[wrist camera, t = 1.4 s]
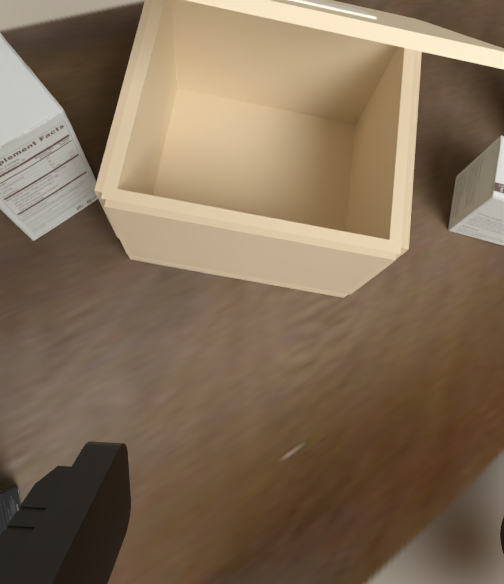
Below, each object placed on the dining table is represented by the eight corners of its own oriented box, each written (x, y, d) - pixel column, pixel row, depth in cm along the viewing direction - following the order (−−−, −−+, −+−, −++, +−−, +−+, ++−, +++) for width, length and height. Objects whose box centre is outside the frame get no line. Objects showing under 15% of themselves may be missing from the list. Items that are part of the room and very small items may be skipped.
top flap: (65, -26, 18) (64, -48, 17) (162, -27, 32) (162, -39, 32) (522, 73, 19) (531, 54, 18) (414, 28, 33) (418, 17, 33)
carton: (123, 264, 39) (90, 204, 28) (166, 84, 44) (153, -32, 32) (348, 303, 41) (407, 262, 29) (366, 124, 45) (423, 28, 34)
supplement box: (-16, 181, 40) (-112, 81, 28) (58, 137, 41) (-1, 25, 29) (33, 245, 39) (-44, 170, 27) (106, 197, 41) (66, 107, 28)
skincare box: (511, 192, 45) (569, 152, 38) (505, 248, 44) (564, 217, 37) (453, 175, 45) (500, 132, 38) (445, 231, 43) (493, 196, 36)
